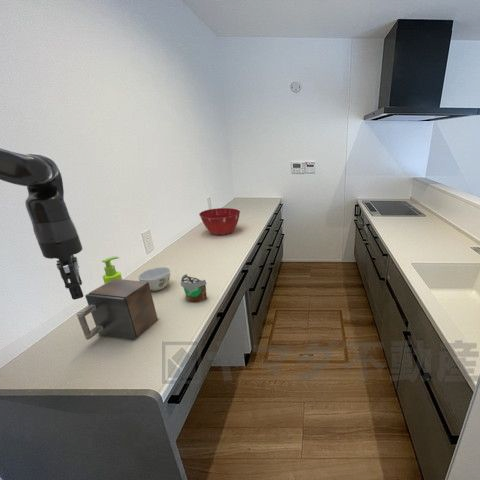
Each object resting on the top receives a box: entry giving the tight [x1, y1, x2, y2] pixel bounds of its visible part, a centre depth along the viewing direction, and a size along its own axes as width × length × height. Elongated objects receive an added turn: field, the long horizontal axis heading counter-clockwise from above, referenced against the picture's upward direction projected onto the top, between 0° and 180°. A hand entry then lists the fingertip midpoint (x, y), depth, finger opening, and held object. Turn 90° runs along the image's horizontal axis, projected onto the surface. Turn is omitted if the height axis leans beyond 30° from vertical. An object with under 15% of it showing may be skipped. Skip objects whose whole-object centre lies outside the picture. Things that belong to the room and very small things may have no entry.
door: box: [76, 293, 137, 341], centre depth 87 cm, size 6×14×17 cm, turn 81°
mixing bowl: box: [199, 207, 241, 236], centre depth 195 cm, size 28×28×16 cm
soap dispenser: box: [101, 256, 123, 284], centre depth 109 cm, size 6×7×20 cm
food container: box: [180, 273, 208, 303], centre depth 113 cm, size 12×6×10 cm, turn 65°
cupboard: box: [88, 278, 159, 339], centre depth 94 cm, size 10×14×17 cm
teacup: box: [137, 266, 171, 292], centre depth 121 cm, size 15×12×8 cm
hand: (77, 291), depth 72 cm, fingers open, 8 cm apart
